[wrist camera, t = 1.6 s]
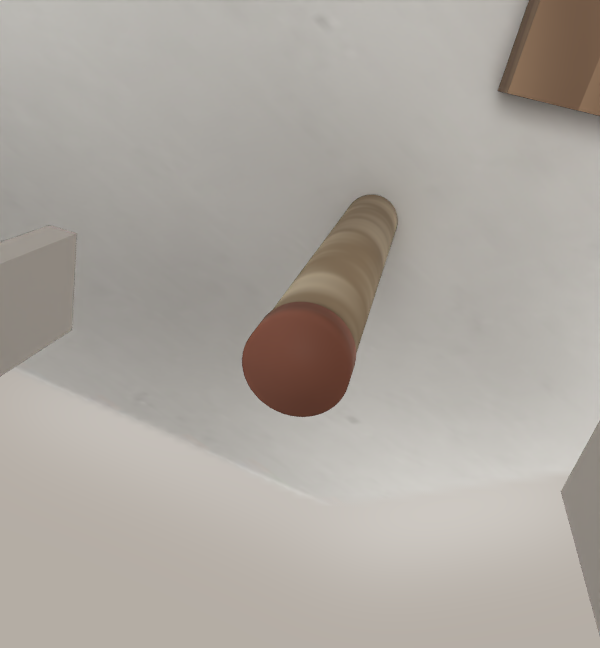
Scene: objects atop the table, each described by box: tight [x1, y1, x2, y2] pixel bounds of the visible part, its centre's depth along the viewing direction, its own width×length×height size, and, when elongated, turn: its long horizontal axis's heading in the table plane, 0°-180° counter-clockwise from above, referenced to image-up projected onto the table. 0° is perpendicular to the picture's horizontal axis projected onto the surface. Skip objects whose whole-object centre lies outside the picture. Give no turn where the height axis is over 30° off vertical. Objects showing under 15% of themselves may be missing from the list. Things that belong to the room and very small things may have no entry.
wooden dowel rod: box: [242, 195, 398, 417], centre depth 20 cm, size 2×2×15 cm
